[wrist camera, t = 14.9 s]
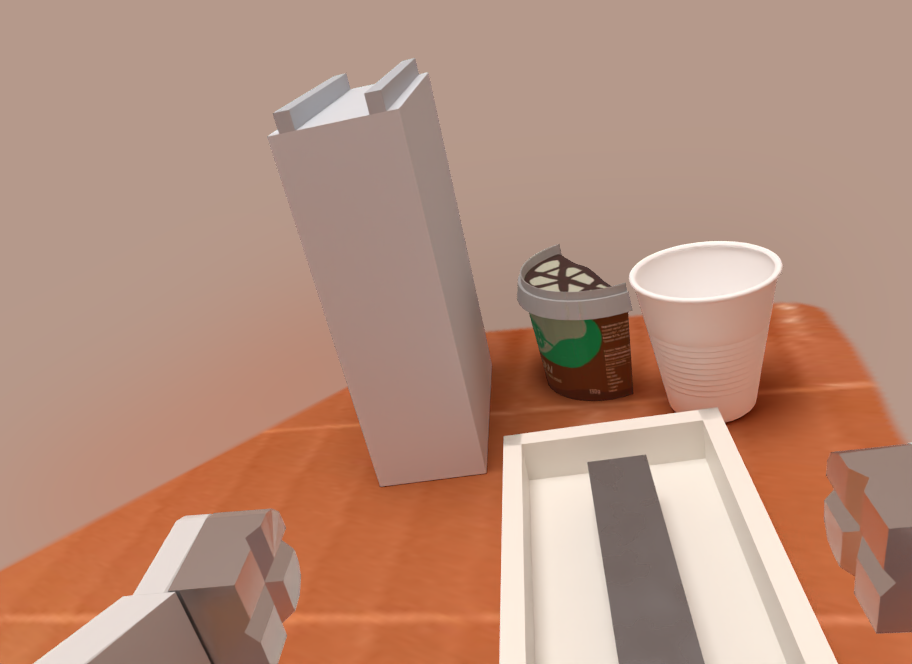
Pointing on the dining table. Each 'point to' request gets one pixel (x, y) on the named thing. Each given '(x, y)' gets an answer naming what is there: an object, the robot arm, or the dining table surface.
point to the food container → (578, 327)
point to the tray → (691, 535)
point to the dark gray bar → (640, 567)
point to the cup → (708, 321)
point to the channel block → (391, 269)
